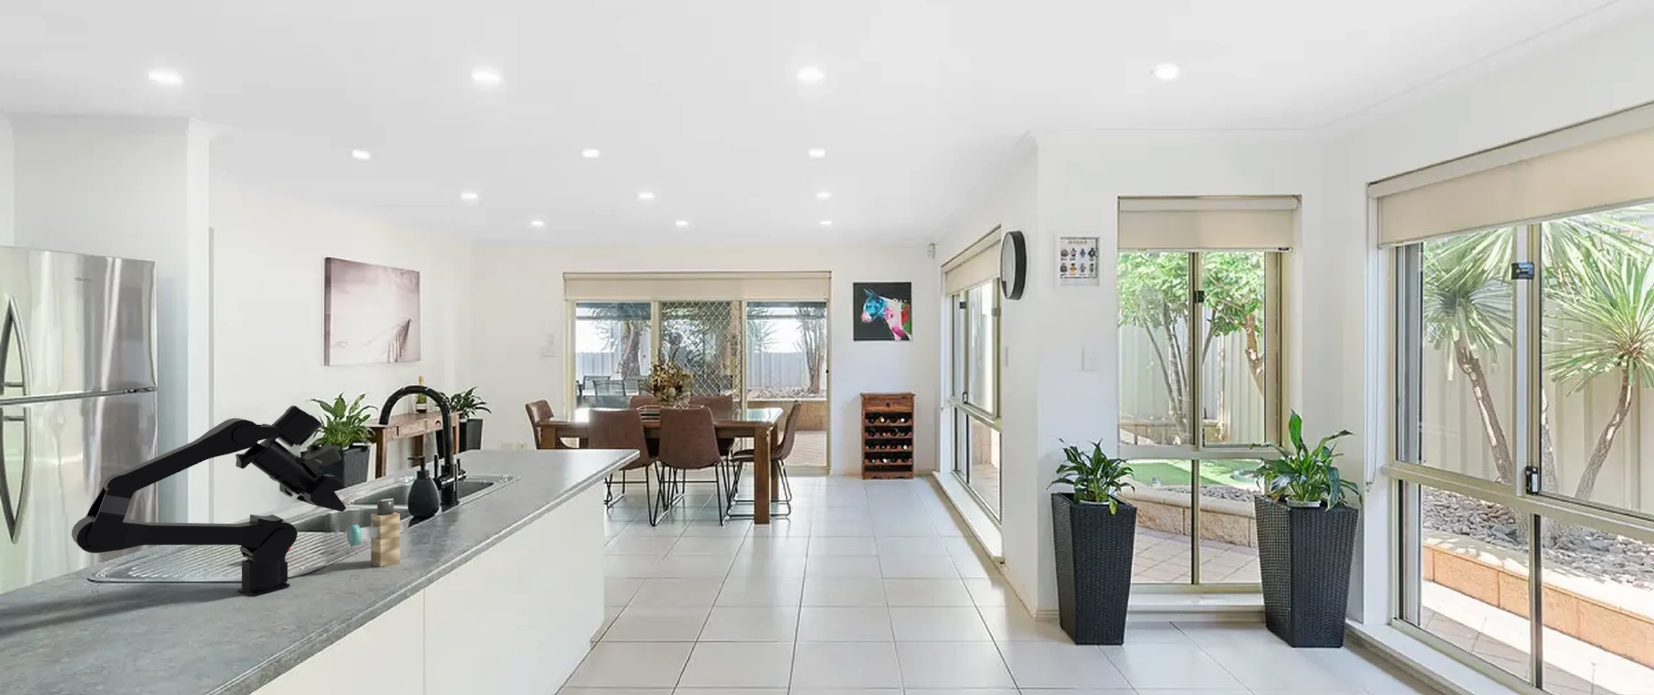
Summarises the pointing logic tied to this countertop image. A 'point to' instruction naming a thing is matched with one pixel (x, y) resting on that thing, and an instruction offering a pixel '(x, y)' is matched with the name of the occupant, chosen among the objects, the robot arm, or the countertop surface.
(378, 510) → the dial
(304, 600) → the countertop surface
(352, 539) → the knob
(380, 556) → the mount
